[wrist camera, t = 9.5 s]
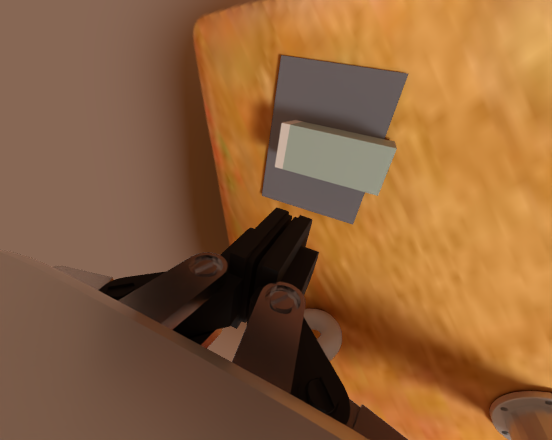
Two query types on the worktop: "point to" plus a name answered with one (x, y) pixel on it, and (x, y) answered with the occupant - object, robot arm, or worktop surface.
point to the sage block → (334, 155)
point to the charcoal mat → (328, 124)
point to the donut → (325, 331)
